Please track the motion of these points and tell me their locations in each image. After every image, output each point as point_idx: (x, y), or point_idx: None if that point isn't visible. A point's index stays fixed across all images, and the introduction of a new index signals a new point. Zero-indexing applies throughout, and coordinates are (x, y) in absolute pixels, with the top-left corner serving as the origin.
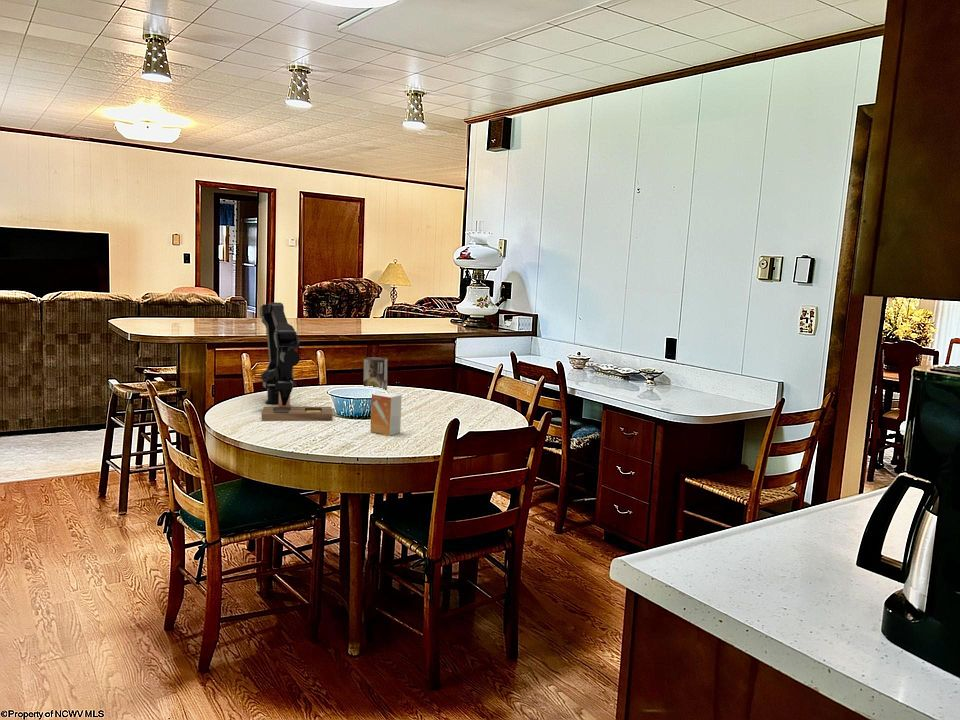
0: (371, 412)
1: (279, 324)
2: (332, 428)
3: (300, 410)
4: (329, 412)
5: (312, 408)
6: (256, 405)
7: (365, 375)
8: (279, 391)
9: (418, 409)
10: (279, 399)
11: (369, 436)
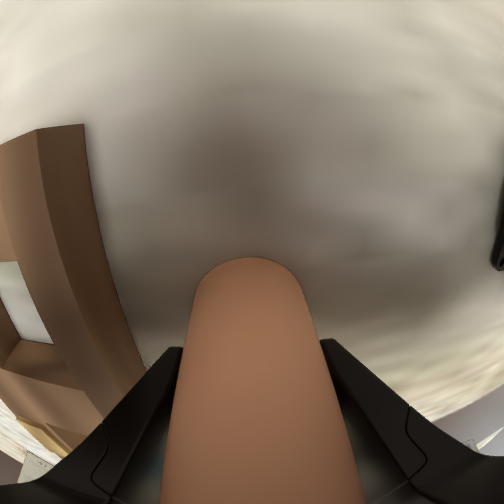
0: (17, 482)
1: None
2: (2, 414)
3: (47, 413)
4: None
5: None
6: (475, 51)
7: None
8: (26, 483)
9: None
10: (200, 367)
11: (4, 437)
